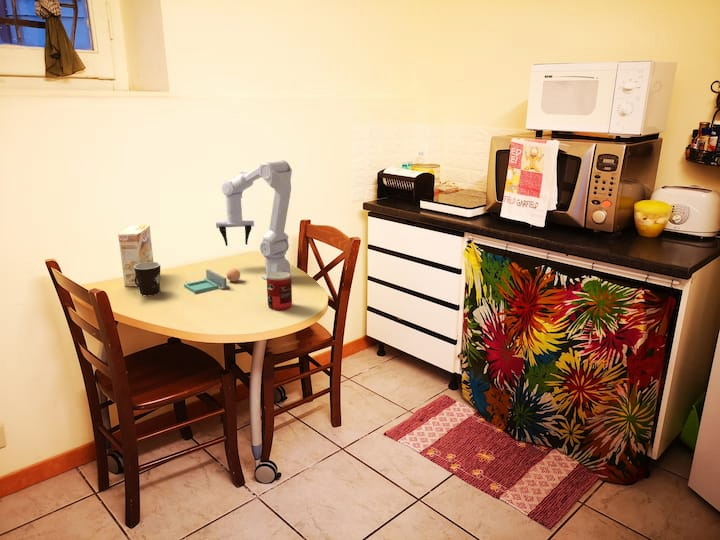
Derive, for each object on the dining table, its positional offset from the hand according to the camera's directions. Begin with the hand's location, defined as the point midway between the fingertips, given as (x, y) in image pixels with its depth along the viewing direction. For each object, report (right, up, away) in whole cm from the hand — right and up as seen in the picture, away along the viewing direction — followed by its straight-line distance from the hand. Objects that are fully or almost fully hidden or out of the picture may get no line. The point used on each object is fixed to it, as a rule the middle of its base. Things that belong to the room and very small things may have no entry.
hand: (236, 244), depth 216 cm
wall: (-4, -15, -16) cm, 23 cm away
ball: (+2, -14, -13) cm, 19 cm away
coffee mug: (-25, -19, -27) cm, 41 cm away
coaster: (-8, -16, -20) cm, 27 cm away
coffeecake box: (-33, -14, -12) cm, 38 cm away
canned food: (+23, -22, -37) cm, 49 cm away
